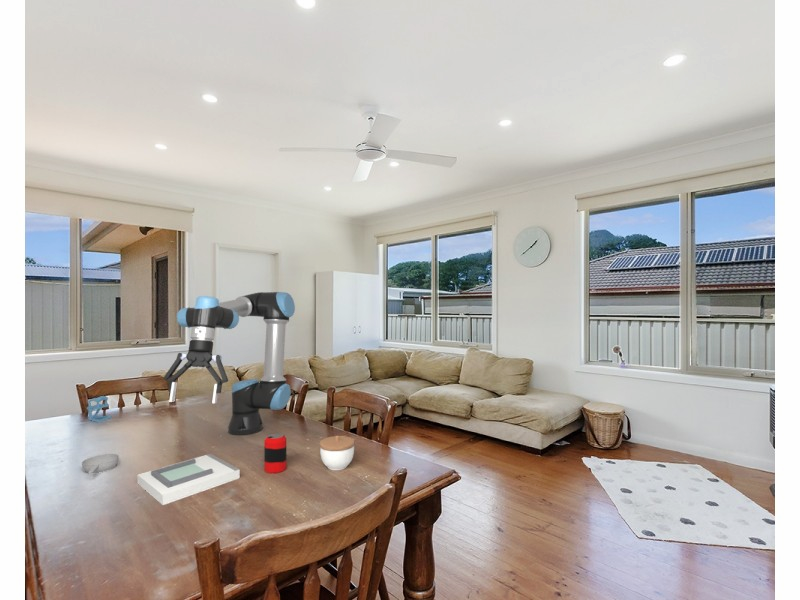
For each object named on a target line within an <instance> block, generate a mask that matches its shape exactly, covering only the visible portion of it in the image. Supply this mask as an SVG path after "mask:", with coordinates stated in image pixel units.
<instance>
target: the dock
mask: <svg viewBox="0 0 800 600" xmlns="http://www.w3.org/2000/svg"><path fill="white" fill-rule="evenodd" d="M240 472H241V471H240V468H238V467H236V466H234V465H233V464H231V463H229V462H227V461H225V460H224V459H222V458H219V457H217V456H215V455H214V454H212V453H208V454H205V455H202V456H201V455H200V456H197V457H194V458H191V459H188V460H184V461H179V462H177V463H176V462H175V463H173V464H170V465H166V466H163V467H160V468H156V469H153V470H148V471H146V472H142V473H138V474H137V485H138V484H139V485H138V486H139V487H141V488H142V489H143V490H144V491H145V490H146V491H145V492H147V493H148V494H149V495H150V496H151V497H153V498H154V500H156V501H157V502H158V503H159V504H160V505H162V506H164V505H168V504H171V503H173V502H176V501H178V500H179V501H180V500H182V499H184V498H187V497H190V496H192V495H197V494H199V493H202V492H204V491H207V490H210V489H212V488H216V487H218V486H221V485H224V484H227V483H230V482H234V481H236V480H238V479H240Z"/></svg>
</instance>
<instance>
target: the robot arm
mask: <svg viewBox="0 0 800 600" xmlns="http://www.w3.org/2000/svg"><path fill="white" fill-rule="evenodd" d="M295 309H296V305H295V301H294V298H293V297H292V295H291V294H290V293H288V292H284V291H271V292H267V291H266V292H264V291H263V292H262V291H261V292H253V293H250V294H246V295H242V296H238V297H236V298H235V299H233V300H227V301H223V302H220V300H219V299H218V298H217V297H214V296H208V295H207V296H206V295H202V296H201V295H200V296H198V297H196V300H195V305H194V307H184V308H181V309H179V310H178V312H177V314H176V321H177V323H178V325H179V326H180V327H184V328H189V329H190V328H191V333H190V339H191V340H189V345H188V351H187V354H186V353H182V352H178V353H177V356H176V359H175V360H174V362H173V363H172V365H171V366H170V368H169V369H168V370H167V372H166V373H165V375H164V376H163V380H166V381H167V382H168V388H167V391H168V392H170V395H169V400H168V401H169V403H173V402H175V401H176V393H177V388H178V381H177V380H178V379H179V378H180V377H181V376H182V375H183V374H184V373H185V372H187V371H188V370H189V369H190V368H191V367H193V368H198V367H199V368H206V369H207V371H208V372H209V373H210V375H211V376H212V377H213V379H214V380H215V382H216V383H214V386H213V393H212V402H211V403H212V404H217V402H218V395H219V394H221V393H222V389H223V388H222V387H223V384H224V383H227V382H229V377H228V376H227V373H226V370H225V368H224V364H223V362H222V355H220V354H215V355H213V350H214V348H213V347H214V342H213V341H214V340H215V332H216V329H217V328H220V329H224V330H232V329H235V328H236V327H237V326H238V324H239V321H240V317H241V318H245V317H261V318H263V321H264V323H265V324H266V330H265V346H264V348H265V349H264V364H263V365H264V366H263V376H262V377H261V378H260V379H258V378H251V379H244V380H239V381H236V382H235V383H233V384H232V387H231V388H232V390H231V404H232V406H231V409H232V411H231V412H232V414H231V417H230V421H229V423H228V428H227V429H228V434H230V435H235V436H245V435H251V434H256V433H258V432H261V431H262V430H263V429H264V423H263V420H262V417H261V414H260V409H262V410H270V411H271V410H272V411H274V410H276V411H277V410H280V411H281V410H282V409H284V408H286V406H288V405H287V404H288V403H289V401H290V398H291V393H292V392H291V391H292V390H291V386H290V385H289V384H288V383H287V378H286V377H284V365H285V360H284V359H285V343H286V326H287V323H289V322H290V318H292V317H293V316H294V315H295V314H294V313H295ZM185 359H186V360H187V361H186V363H185V364H183V366H182V367H181V368H180V369H179V370H177V369H178V367H179V366H180V365H181V363H182V361H183V360H185ZM212 360H213V361H214V362H215V363H216V366H217V369H218V371H219V374H220V375H219V374H218V373H217V371H216V370H215V369H214V367H213V365H212V364H211V363H210V362H212ZM176 370H177V372H176Z"/></svg>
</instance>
